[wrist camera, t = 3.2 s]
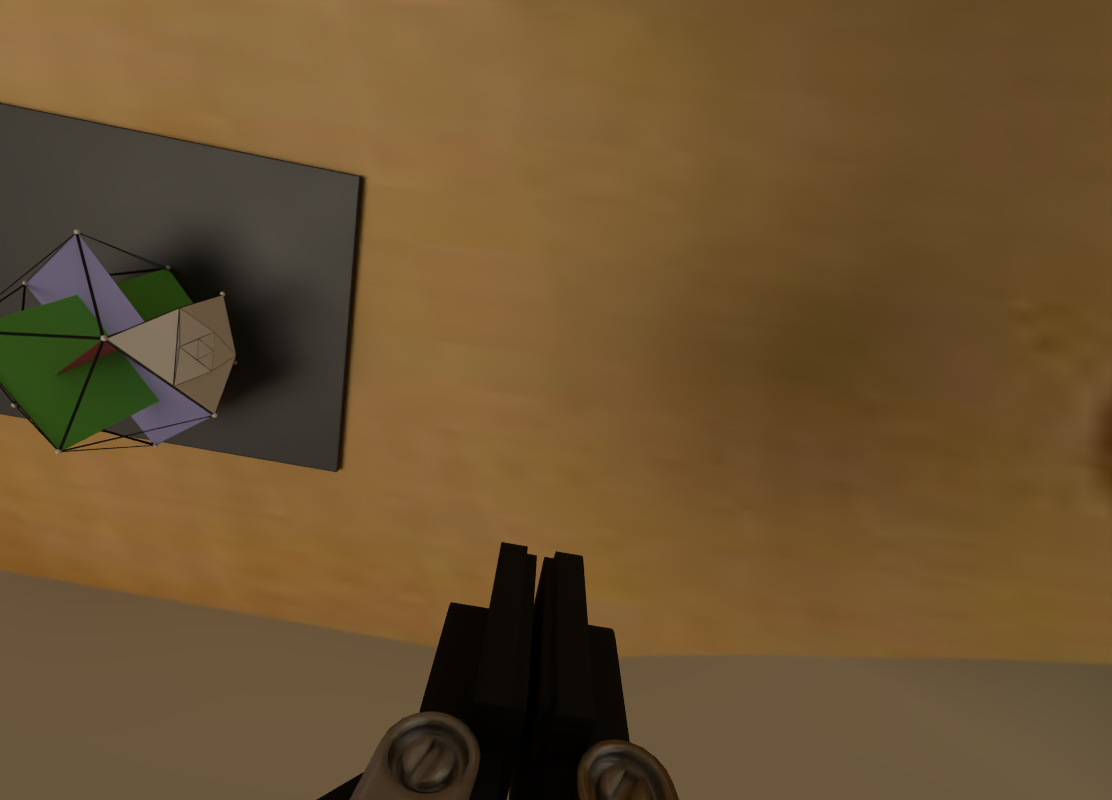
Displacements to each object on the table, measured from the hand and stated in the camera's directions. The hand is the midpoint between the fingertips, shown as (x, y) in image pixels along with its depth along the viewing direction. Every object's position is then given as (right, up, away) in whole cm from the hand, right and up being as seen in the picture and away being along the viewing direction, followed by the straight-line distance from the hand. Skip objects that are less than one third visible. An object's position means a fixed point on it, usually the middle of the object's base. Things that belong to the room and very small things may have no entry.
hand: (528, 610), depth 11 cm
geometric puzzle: (-14, +7, +11) cm, 19 cm away
